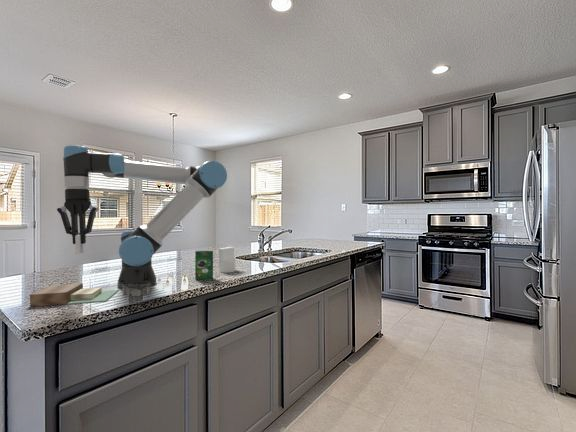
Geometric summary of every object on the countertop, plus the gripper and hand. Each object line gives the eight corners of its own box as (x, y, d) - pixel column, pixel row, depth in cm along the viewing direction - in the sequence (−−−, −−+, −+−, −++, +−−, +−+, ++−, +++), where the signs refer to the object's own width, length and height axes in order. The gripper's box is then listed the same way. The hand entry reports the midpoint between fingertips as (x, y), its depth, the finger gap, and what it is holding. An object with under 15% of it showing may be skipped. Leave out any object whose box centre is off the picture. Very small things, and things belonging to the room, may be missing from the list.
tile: (101, 292, 123) (101, 287, 123) (92, 298, 114) (92, 293, 114) (81, 293, 121) (81, 288, 121) (70, 300, 112) (70, 294, 112)
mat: (118, 290, 127) (118, 289, 127) (106, 301, 112) (106, 300, 112) (85, 292, 125) (85, 291, 125) (67, 304, 109) (67, 303, 109)
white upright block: (227, 273, 160) (226, 249, 159) (214, 271, 164) (213, 248, 164) (239, 270, 167) (238, 247, 167) (226, 268, 172) (225, 246, 172)
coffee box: (213, 277, 149) (212, 249, 149) (213, 278, 147) (213, 250, 146) (195, 279, 147) (194, 250, 147) (195, 280, 144) (194, 251, 144)
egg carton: (152, 293, 123) (152, 283, 123) (133, 298, 117) (133, 286, 117) (139, 289, 129) (138, 279, 129) (120, 293, 123) (119, 283, 123)
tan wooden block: (83, 293, 123) (82, 283, 123) (67, 303, 110) (66, 292, 110) (50, 295, 121) (50, 285, 121) (30, 306, 107) (29, 294, 107)
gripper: (100, 189, 121) (102, 250, 122) (61, 189, 118) (64, 252, 119) (93, 187, 114) (95, 253, 115) (51, 188, 111) (54, 255, 112)
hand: (79, 252), depth 117 cm, fingers closed
